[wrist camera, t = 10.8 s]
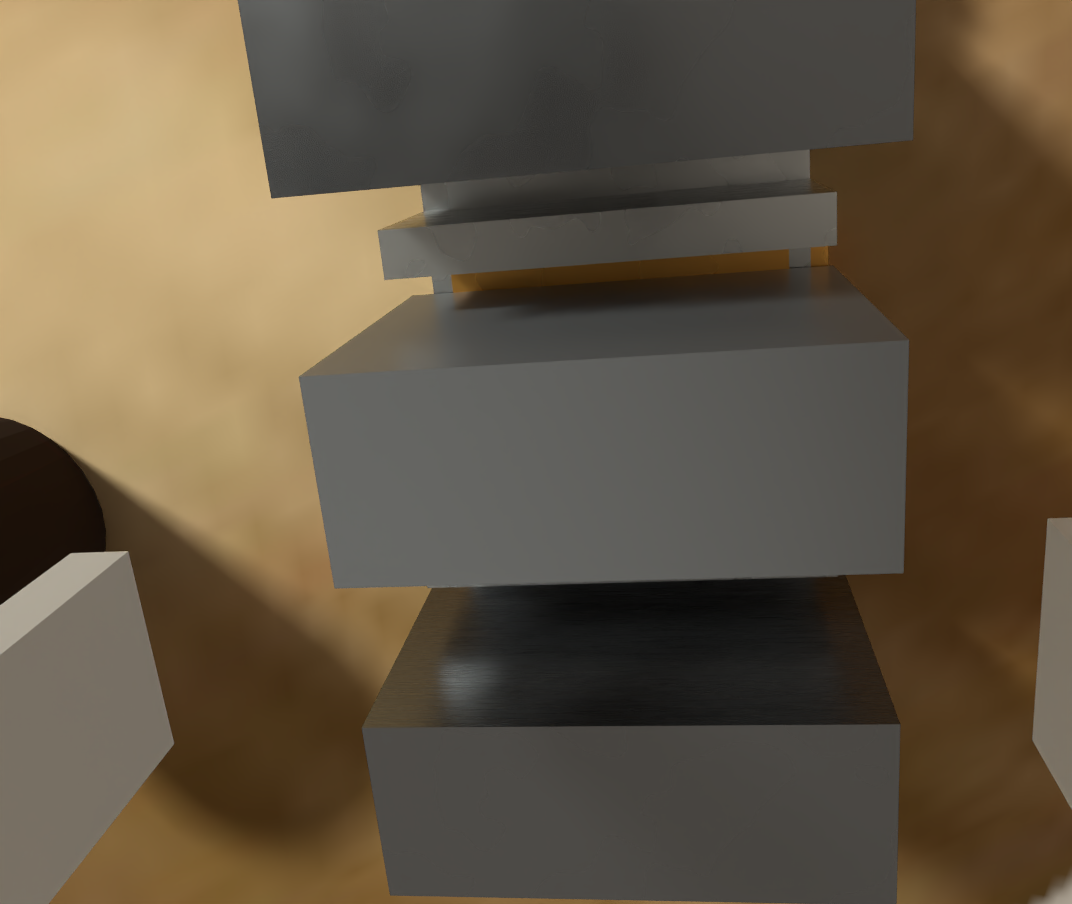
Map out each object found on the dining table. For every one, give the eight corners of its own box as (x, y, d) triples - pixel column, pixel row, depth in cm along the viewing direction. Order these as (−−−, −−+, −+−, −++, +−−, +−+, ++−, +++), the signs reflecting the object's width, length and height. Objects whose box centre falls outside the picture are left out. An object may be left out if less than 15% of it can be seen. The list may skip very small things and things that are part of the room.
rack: (370, -129, 23) (192, -268, 14) (825, -192, 21) (924, -391, 13) (481, 741, 30) (406, 990, 21) (828, 740, 28) (894, 1006, 20)
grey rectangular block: (412, 295, 25) (299, 377, 17) (833, 265, 23) (909, 339, 16) (432, 449, 26) (334, 588, 18) (833, 430, 24) (903, 573, 17)
